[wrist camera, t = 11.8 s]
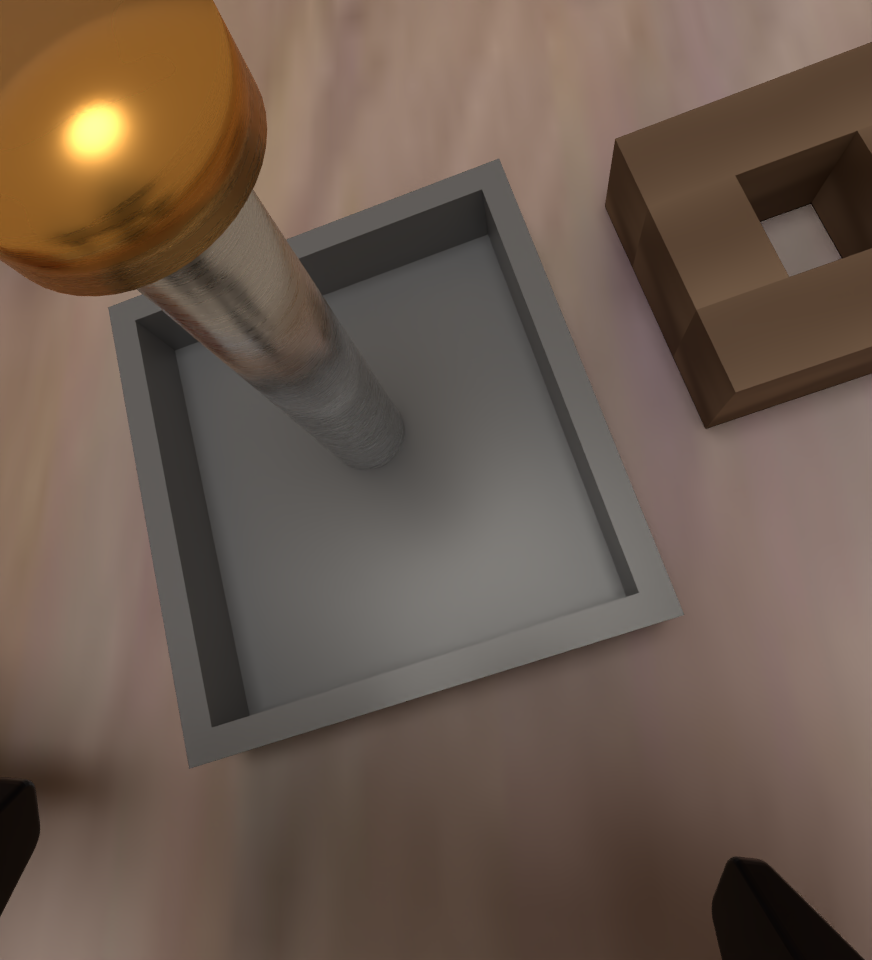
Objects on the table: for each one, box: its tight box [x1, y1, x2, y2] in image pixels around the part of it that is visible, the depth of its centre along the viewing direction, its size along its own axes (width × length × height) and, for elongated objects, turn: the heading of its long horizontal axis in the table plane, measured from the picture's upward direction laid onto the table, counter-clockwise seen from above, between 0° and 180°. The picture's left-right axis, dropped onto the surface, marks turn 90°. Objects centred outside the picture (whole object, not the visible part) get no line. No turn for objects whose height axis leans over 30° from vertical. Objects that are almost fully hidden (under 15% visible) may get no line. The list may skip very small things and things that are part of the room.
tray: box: [108, 159, 684, 769], centre depth 19 cm, size 14×13×3 cm
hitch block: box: [605, 42, 872, 428], centre depth 18 cm, size 8×8×3 cm
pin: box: [0, 0, 405, 470], centre depth 13 cm, size 4×4×13 cm
